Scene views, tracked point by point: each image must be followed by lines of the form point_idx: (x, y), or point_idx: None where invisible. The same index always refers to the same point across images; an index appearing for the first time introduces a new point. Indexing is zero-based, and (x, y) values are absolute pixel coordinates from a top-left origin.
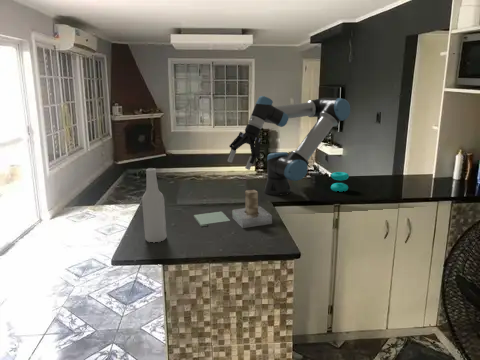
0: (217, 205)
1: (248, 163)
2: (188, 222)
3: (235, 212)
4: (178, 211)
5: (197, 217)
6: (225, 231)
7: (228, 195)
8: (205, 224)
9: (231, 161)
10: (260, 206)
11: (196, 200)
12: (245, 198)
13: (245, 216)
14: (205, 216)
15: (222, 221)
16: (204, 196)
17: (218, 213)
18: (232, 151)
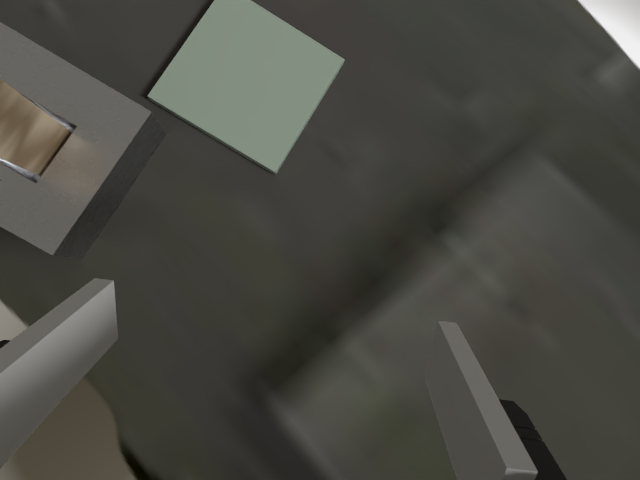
0: (379, 255)
1: (46, 319)
2: (309, 2)
3: (105, 86)
4: (453, 82)
5: (306, 44)
6: (93, 4)
7: None
8: (214, 1)
9: (429, 379)
10: (48, 252)
11: (517, 250)
12: (14, 89)
13: (13, 64)
14: (286, 74)
15: (171, 65)
16: (538, 326)
17: (267, 140)
18: (490, 442)
